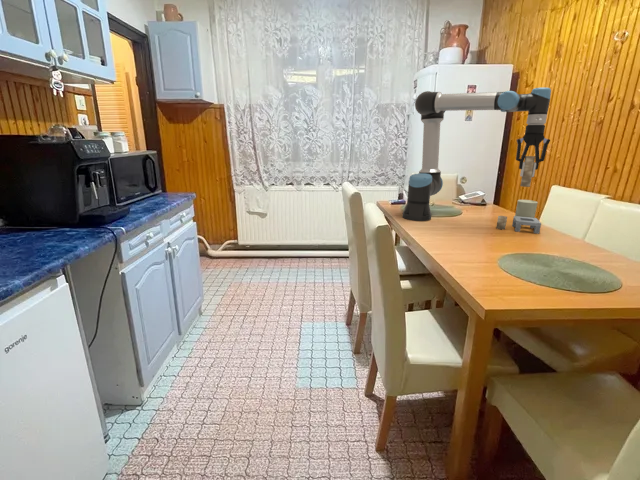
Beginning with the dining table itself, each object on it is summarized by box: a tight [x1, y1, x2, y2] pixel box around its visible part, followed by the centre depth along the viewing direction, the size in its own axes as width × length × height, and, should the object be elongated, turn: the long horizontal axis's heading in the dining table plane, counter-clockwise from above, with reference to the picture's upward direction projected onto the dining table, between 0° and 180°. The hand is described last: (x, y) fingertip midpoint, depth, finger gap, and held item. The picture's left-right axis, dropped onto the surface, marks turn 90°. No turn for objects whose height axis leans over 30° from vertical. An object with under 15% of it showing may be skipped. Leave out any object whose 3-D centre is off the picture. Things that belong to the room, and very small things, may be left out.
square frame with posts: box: [511, 215, 542, 235], centre depth 169 cm, size 10×12×5 cm
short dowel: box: [495, 215, 508, 231], centre depth 170 cm, size 4×4×6 cm
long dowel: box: [520, 155, 536, 188], centre depth 164 cm, size 4×4×14 cm
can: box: [514, 199, 538, 218], centre depth 181 cm, size 9×9×12 cm
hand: (526, 176), depth 165 cm, fingers closed on long dowel, 4 cm apart
